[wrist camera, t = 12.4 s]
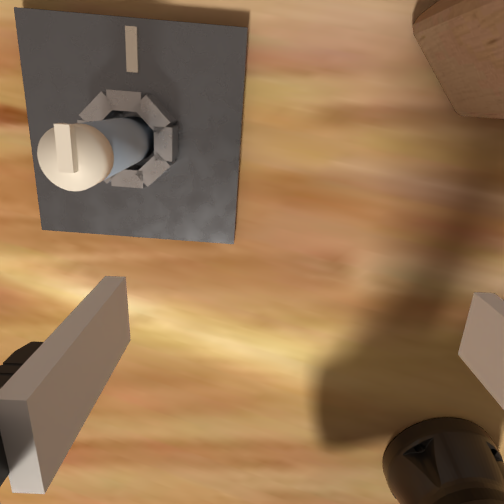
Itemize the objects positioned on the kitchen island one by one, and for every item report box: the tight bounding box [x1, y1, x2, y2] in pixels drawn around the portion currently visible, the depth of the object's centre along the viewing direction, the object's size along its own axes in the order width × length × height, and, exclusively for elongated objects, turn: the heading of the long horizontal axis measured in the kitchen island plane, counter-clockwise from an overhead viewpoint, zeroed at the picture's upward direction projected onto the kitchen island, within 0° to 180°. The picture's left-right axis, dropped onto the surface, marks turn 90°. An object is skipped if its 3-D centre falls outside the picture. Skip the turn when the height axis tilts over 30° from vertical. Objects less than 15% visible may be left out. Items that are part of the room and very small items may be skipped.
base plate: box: [14, 7, 248, 244], centre depth 36 cm, size 20×20×4 cm
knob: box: [37, 116, 154, 191], centre depth 30 cm, size 4×4×15 cm
